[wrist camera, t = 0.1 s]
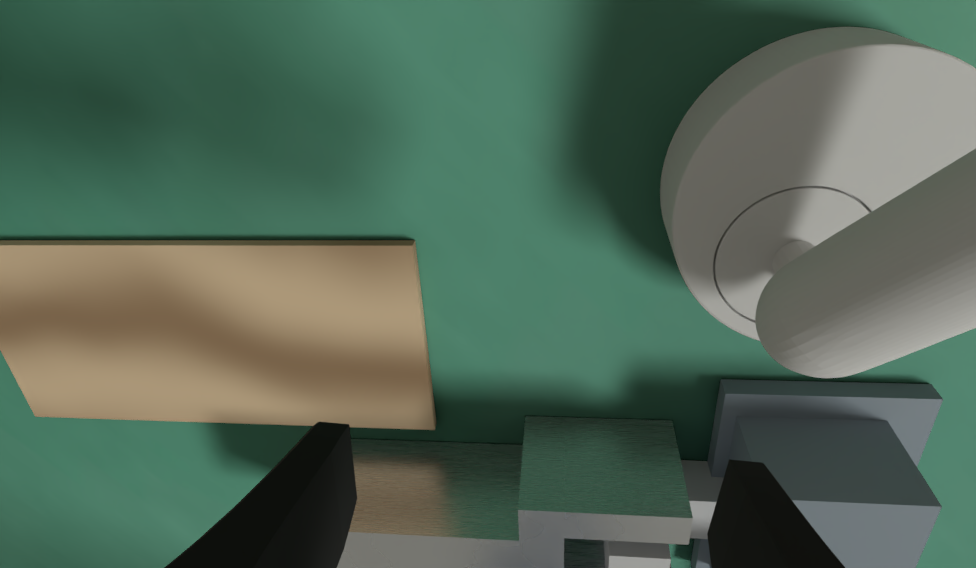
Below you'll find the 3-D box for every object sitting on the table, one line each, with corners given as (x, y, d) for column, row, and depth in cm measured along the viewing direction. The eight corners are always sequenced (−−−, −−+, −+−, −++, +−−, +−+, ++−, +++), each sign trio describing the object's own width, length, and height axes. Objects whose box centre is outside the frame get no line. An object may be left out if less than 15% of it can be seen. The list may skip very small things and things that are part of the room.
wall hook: (1577, 263, 9) (959, 607, 14) (1091, 93, 17) (811, 345, 22) (1163, -106, 7) (630, 427, 12) (847, -97, 16) (603, 218, 20)
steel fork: (658, 529, 27) (675, 632, 23) (326, 512, 29) (289, 606, 25) (672, 420, 24) (692, 518, 20) (300, 409, 26) (253, 497, 22)
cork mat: (436, 423, 25) (434, 430, 25) (42, 410, 27) (35, 416, 27) (415, 240, 21) (412, 245, 21) (-46, 240, 23) (-55, 245, 23)
